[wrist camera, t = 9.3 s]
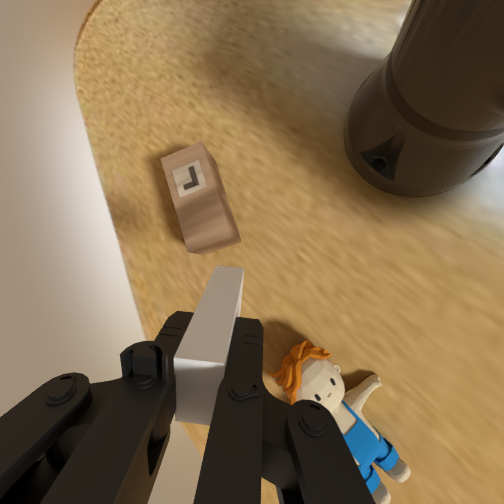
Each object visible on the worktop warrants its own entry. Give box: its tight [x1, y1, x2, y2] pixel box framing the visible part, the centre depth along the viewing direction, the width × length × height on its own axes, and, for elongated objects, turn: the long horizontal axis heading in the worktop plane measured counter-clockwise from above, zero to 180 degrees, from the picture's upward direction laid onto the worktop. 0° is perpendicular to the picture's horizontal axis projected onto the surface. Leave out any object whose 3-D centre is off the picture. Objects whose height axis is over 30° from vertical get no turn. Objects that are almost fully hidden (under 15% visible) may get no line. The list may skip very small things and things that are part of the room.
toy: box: [268, 340, 411, 504], centre depth 25 cm, size 12×6×15 cm
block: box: [161, 141, 241, 255], centre depth 29 cm, size 5×5×11 cm
